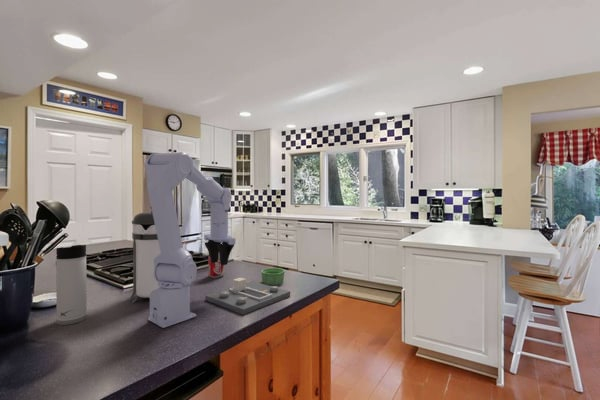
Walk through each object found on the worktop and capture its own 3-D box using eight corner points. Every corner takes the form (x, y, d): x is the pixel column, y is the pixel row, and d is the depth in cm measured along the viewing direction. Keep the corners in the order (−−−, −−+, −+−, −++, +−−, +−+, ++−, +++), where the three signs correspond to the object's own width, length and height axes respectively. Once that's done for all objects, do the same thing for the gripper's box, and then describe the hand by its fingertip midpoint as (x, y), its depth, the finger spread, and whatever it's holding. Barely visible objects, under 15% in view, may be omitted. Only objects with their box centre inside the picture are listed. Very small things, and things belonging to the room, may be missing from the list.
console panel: (243, 314, 83) (243, 305, 83) (205, 300, 94) (205, 291, 94) (290, 295, 99) (290, 287, 99) (252, 285, 110) (252, 277, 110)
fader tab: (238, 291, 97) (238, 280, 97) (233, 290, 99) (233, 279, 99) (245, 289, 100) (245, 278, 100) (240, 287, 102) (240, 277, 101)
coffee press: (190, 295, 98) (190, 204, 98) (138, 309, 87) (137, 205, 86) (167, 284, 110) (167, 202, 110) (118, 294, 99) (118, 203, 98)
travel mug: (63, 328, 74) (62, 247, 74) (52, 321, 78) (51, 244, 77) (91, 319, 80) (91, 243, 79) (80, 313, 83) (79, 241, 83)
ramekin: (269, 287, 109) (269, 275, 108) (256, 281, 116) (256, 270, 115) (289, 282, 114) (289, 271, 114) (275, 277, 121) (276, 266, 121)
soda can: (207, 275, 124) (207, 245, 123) (222, 273, 126) (222, 244, 126) (209, 278, 118) (209, 248, 118) (225, 277, 121) (225, 247, 120)
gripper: (242, 223, 100) (242, 264, 100) (216, 221, 109) (216, 258, 109) (225, 225, 94) (225, 268, 94) (198, 222, 103) (198, 261, 103)
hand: (219, 263), depth 101 cm, fingers open, 5 cm apart
